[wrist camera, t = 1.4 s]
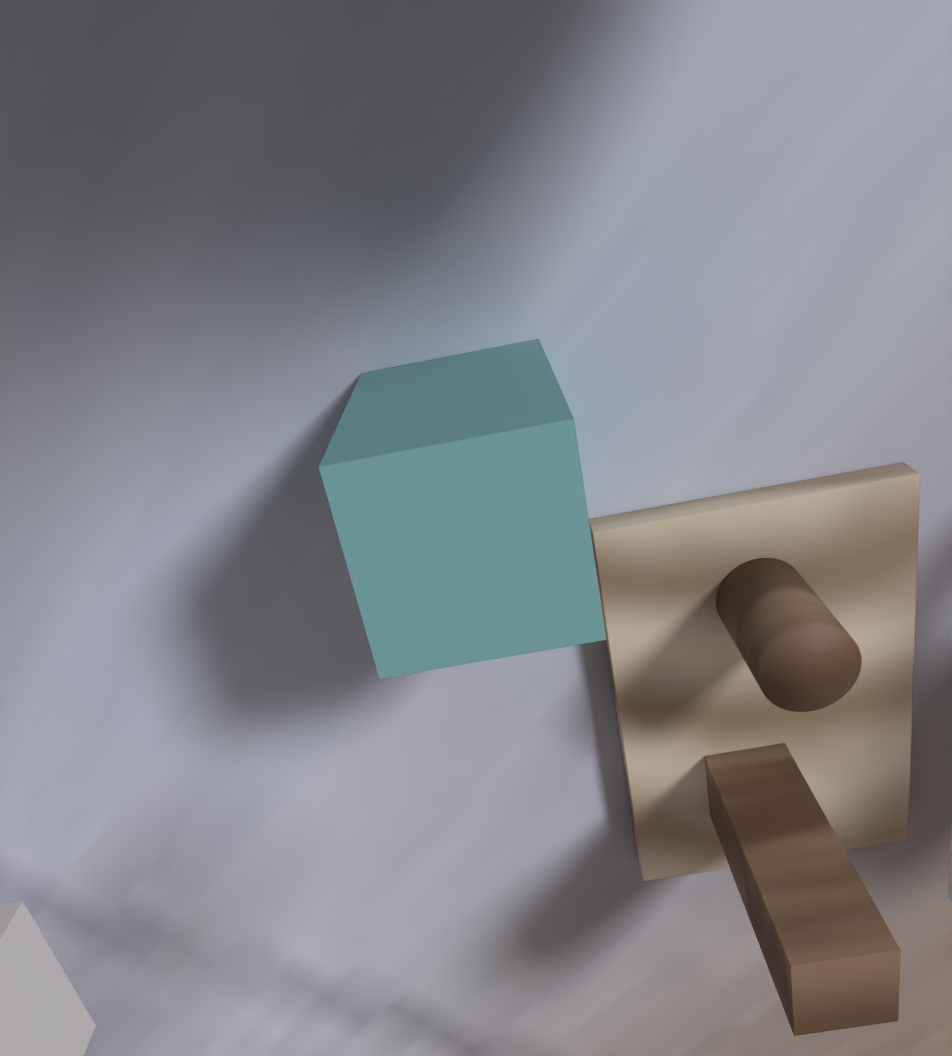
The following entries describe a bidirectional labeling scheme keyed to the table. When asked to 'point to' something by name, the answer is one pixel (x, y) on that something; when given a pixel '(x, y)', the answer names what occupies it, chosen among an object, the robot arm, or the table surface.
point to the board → (774, 712)
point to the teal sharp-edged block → (464, 511)
